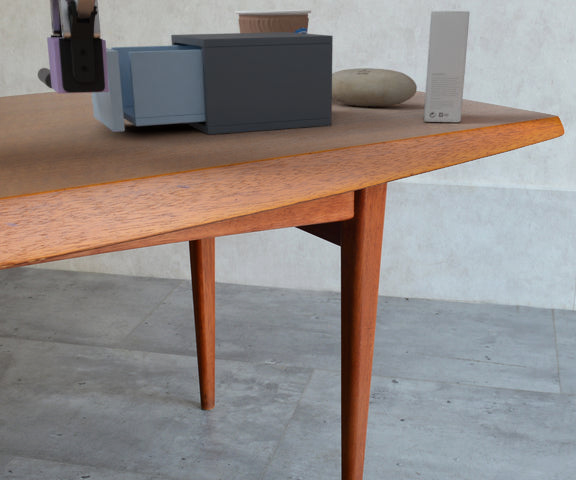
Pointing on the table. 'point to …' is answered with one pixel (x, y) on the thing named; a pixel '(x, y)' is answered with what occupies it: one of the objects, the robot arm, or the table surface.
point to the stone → (372, 87)
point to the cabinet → (264, 80)
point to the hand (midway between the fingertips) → (79, 85)
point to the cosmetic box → (446, 66)
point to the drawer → (149, 86)
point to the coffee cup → (273, 21)
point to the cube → (56, 65)
